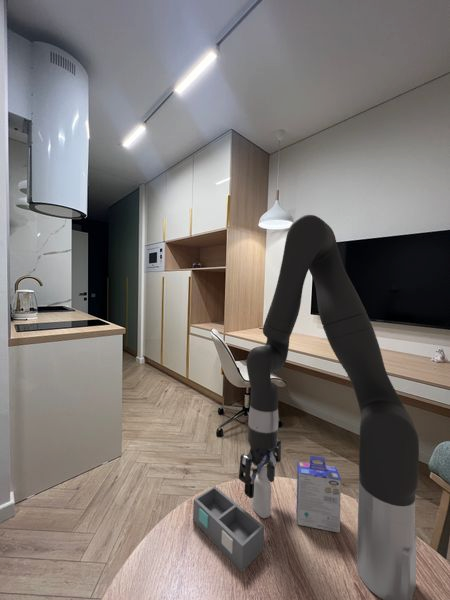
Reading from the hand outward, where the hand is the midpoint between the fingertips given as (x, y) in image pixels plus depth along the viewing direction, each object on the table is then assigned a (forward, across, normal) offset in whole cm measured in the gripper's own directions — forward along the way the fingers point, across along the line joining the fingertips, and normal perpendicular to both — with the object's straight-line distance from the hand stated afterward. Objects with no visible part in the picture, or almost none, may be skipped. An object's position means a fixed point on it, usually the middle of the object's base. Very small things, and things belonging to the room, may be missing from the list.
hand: (260, 487), depth 65 cm
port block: (+6, -11, +1) cm, 12 cm away
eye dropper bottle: (+6, 0, 0) cm, 6 cm away
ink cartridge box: (+6, +8, -11) cm, 15 cm away
